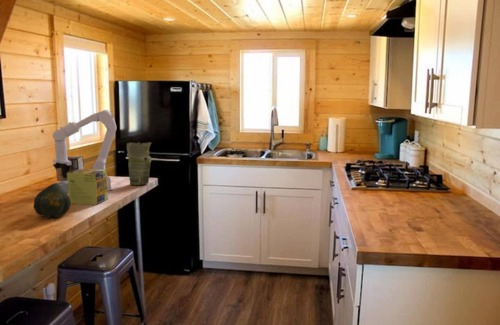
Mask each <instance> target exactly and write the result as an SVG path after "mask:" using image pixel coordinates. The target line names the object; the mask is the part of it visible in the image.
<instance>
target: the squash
mask: <svg viewBox="0 0 500 325" xmlns="http://www.w3.org/2000/svg"><path fill="white" fill-rule="evenodd" d="M71 204H72V203H71V202H70V198H69V194H68V193H66V192H65V191H64V190H63V189H62V188H61V187H60V185H59V184H57V183H56V182H54V183H51V184H49V185H47V186H46V187H45V188H43V189H42V190H41V191H40V192H38V193H37V194H36V196H35V198H34V200H33V209H34V210H35V213H36V214H37V215H39V216H42V217H43V218H44V219H49V220H50V219H51V218H58V217H60V216H62V215H65V214H66V213H67V212H68V211H69V210H70V208H71Z"/></svg>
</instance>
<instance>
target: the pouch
mask: <svg viewBox="0 0 500 325" xmlns="http://www.w3.org/2000/svg"><path fill="white" fill-rule="evenodd" d="M151 144H152V142H150V141H148V142H143V143H141V142H140V141H138V142H127V143H126V151H127V157H128V163H127V165H128V177H129V178H128V179H129V185H132V186H142V185H146V184H147V185H149V182H150V170H151V169H150V168H151V162H152V156H150V153H151V151H150V147H151Z"/></svg>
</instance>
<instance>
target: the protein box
mask: <svg viewBox="0 0 500 325" xmlns="http://www.w3.org/2000/svg"><path fill="white" fill-rule="evenodd" d="M106 174H107V169H105V170H100V169H92V168H84V169H77V170H74V171H71V172H67V181H68V193H67V194H68V196H69V198H70V202H71V204H76V205H77V204H78V205H95V206H99V205H100V204H101V203H104V202H105V201H107V200H109V195H108V194H109V193H108V192H109V191H107V176H108V175H107V176H106Z"/></svg>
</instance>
